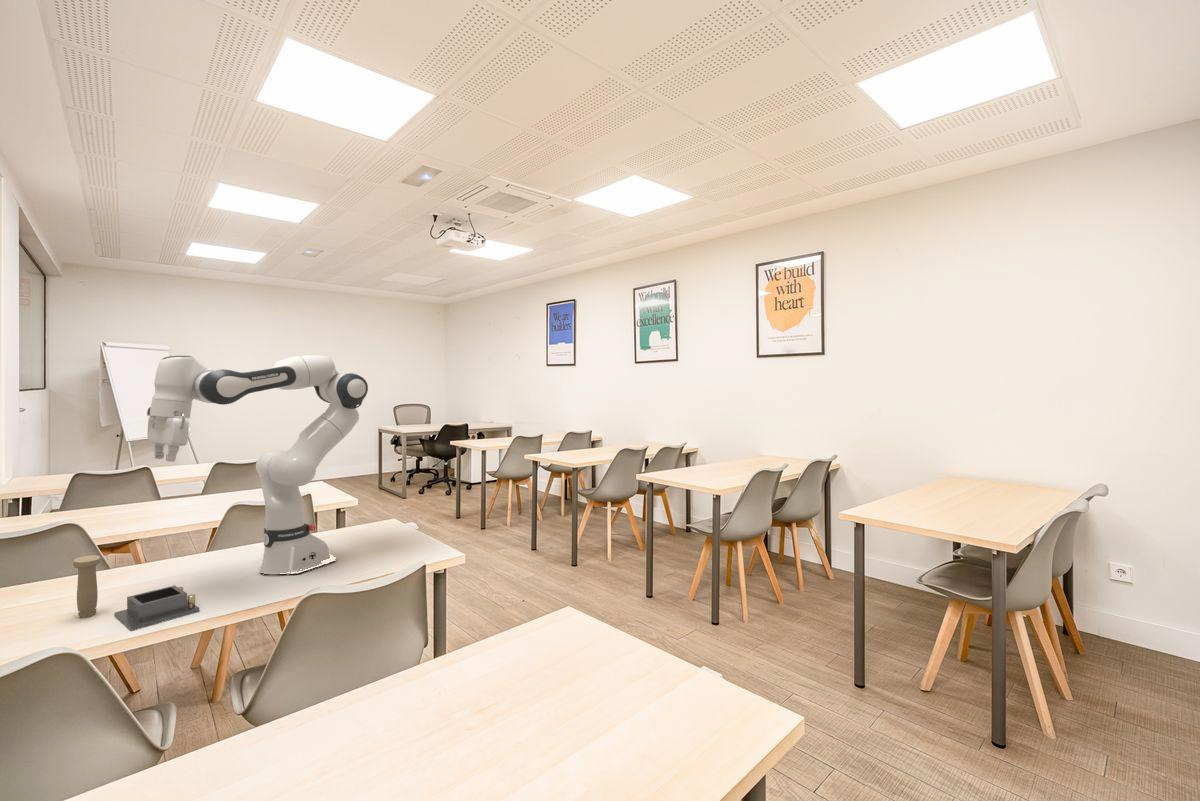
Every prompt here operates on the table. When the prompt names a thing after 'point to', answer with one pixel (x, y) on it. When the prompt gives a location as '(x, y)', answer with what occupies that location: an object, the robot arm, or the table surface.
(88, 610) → the handle
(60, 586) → the table surface
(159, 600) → the clip socket
